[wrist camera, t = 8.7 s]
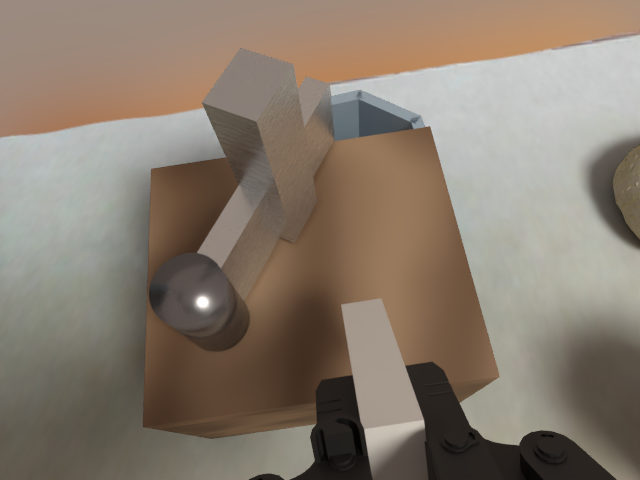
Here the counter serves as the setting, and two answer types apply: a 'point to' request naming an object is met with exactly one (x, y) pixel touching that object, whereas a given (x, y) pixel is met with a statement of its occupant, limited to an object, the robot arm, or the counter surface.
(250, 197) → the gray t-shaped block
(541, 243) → the counter surface
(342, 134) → the cup
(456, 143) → the counter surface
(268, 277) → the platform
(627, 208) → the sea urchin shell
